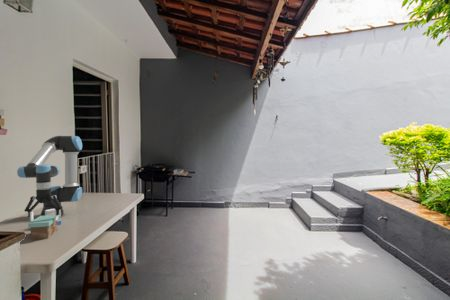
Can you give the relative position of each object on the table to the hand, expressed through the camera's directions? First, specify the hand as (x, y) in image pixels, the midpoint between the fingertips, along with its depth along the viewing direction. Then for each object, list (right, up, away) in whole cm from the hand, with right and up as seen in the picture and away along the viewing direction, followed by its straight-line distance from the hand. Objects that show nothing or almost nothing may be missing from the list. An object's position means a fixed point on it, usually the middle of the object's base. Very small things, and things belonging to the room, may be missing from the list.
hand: (44, 221), depth 153 cm
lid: (0, -3, 0) cm, 3 cm away
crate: (0, -9, +1) cm, 9 cm away
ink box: (-7, -9, +18) cm, 21 cm away
